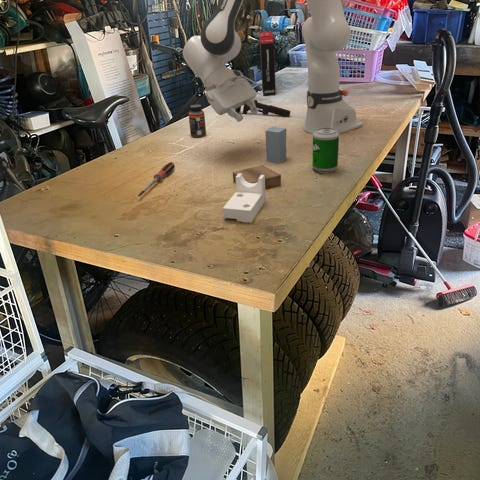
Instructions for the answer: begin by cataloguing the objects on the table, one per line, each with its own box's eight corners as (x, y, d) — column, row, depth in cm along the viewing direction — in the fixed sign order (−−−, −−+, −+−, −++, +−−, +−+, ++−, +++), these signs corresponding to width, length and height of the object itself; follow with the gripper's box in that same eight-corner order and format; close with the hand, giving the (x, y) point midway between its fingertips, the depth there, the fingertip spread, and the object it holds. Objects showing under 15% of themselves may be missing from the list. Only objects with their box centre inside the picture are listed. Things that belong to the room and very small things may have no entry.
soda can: (339, 166, 145) (341, 127, 139) (335, 175, 139) (337, 134, 133) (314, 164, 148) (315, 126, 142) (309, 173, 141) (310, 133, 136)
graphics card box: (276, 95, 232) (275, 35, 219) (262, 96, 232) (259, 36, 219) (274, 88, 247) (273, 31, 234) (261, 89, 247) (259, 32, 234)
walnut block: (262, 174, 143) (262, 164, 141) (280, 184, 135) (280, 174, 134) (233, 182, 139) (232, 172, 137) (250, 193, 131) (249, 183, 130)
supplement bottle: (204, 138, 178) (201, 107, 173) (188, 137, 179) (185, 107, 174) (208, 133, 183) (205, 103, 178) (193, 133, 185) (190, 103, 179)
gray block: (273, 156, 156) (272, 126, 151) (286, 158, 154) (286, 128, 149) (266, 161, 152) (265, 130, 148) (279, 163, 150) (279, 132, 145)
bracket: (240, 199, 129) (238, 173, 125) (265, 201, 126) (264, 174, 123) (223, 221, 118) (221, 192, 114) (251, 223, 116) (249, 195, 112)
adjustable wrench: (285, 128, 199) (232, 113, 206) (287, 127, 201) (235, 111, 209) (289, 109, 194) (234, 94, 202) (291, 107, 197) (237, 92, 204)
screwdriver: (144, 201, 131) (142, 191, 129) (134, 201, 131) (132, 191, 130) (177, 169, 151) (176, 160, 150) (168, 168, 152) (167, 159, 151)
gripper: (207, 82, 141) (237, 118, 141) (242, 70, 156) (269, 102, 156) (196, 96, 146) (225, 131, 146) (232, 83, 161) (258, 114, 161)
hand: (248, 116), depth 151 cm, fingers open, 8 cm apart
